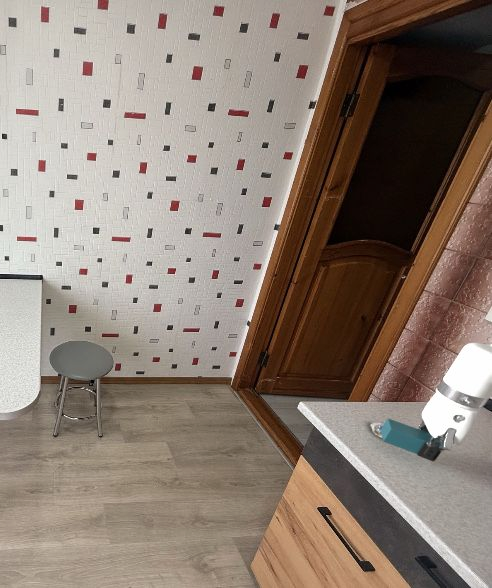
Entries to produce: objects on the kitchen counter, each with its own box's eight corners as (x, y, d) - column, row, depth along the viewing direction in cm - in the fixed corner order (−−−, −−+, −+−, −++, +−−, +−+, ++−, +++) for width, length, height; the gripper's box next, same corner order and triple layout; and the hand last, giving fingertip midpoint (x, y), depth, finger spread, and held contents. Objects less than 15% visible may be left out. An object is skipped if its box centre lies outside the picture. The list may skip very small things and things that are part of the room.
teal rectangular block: (429, 449, 85) (438, 436, 83) (434, 461, 81) (444, 448, 79) (379, 430, 89) (387, 418, 87) (383, 441, 86) (391, 428, 84)
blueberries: (408, 438, 92) (411, 433, 91) (390, 445, 89) (393, 440, 88) (381, 421, 97) (384, 416, 97) (363, 426, 95) (366, 421, 94)
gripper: (502, 423, 68) (454, 483, 75) (469, 381, 81) (431, 436, 89) (452, 407, 71) (411, 466, 79) (428, 370, 85) (395, 423, 92)
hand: (422, 450), depth 84 cm, fingers closed on teal rectangular block, 4 cm apart
